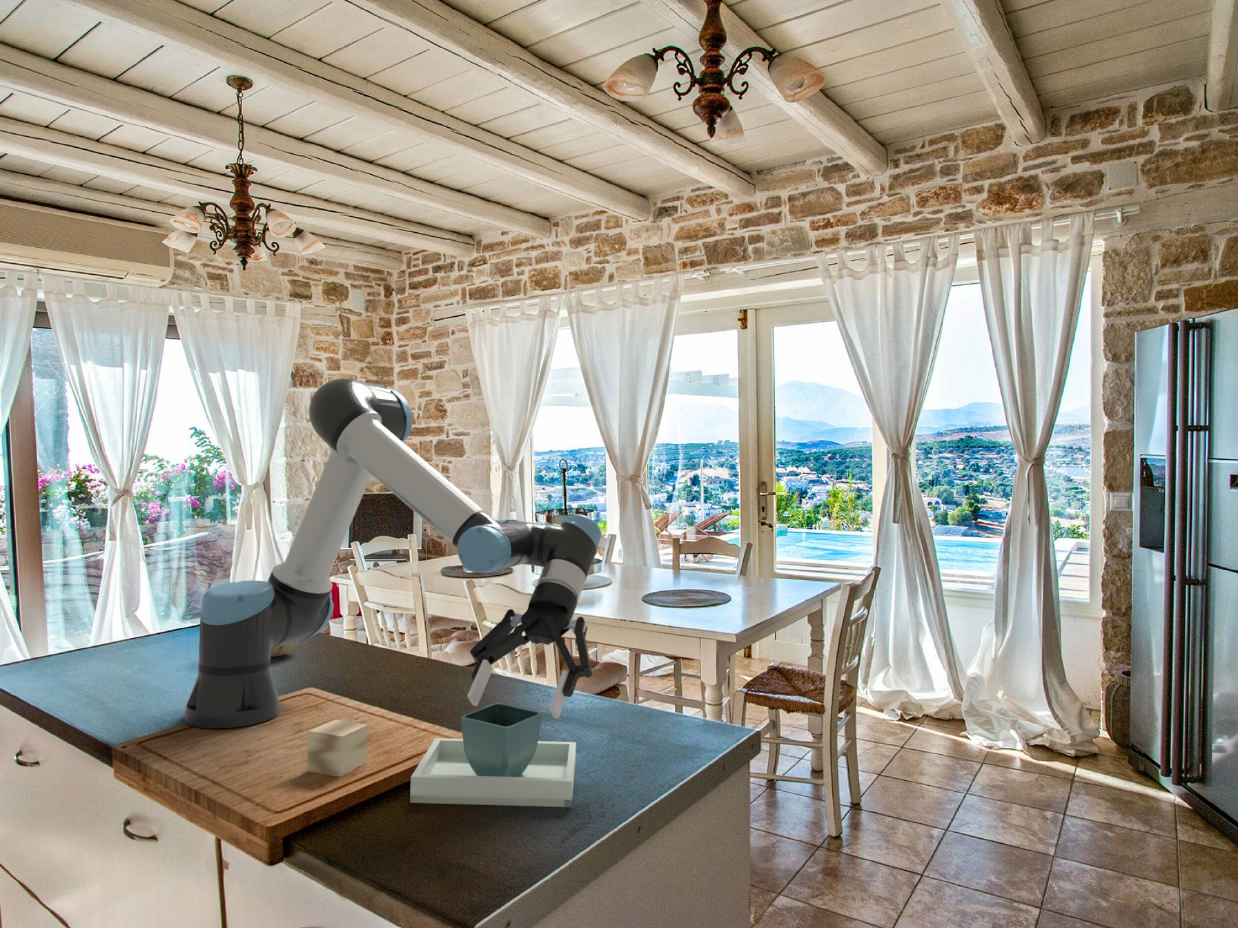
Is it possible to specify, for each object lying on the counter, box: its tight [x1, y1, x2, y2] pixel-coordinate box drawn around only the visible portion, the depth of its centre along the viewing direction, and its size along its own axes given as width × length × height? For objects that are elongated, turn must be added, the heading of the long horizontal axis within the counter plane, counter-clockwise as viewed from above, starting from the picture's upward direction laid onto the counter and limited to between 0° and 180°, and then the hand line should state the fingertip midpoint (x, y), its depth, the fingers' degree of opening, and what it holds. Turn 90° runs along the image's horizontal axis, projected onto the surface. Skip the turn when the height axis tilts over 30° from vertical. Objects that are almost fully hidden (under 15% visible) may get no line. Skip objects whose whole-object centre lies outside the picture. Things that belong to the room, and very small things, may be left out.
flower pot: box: [460, 702, 543, 777], centre depth 116 cm, size 9×9×9 cm
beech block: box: [306, 719, 369, 778], centre depth 120 cm, size 6×6×6 cm
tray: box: [409, 737, 577, 808], centre depth 116 cm, size 22×16×4 cm
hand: (512, 707), depth 118 cm, fingers open, 13 cm apart
